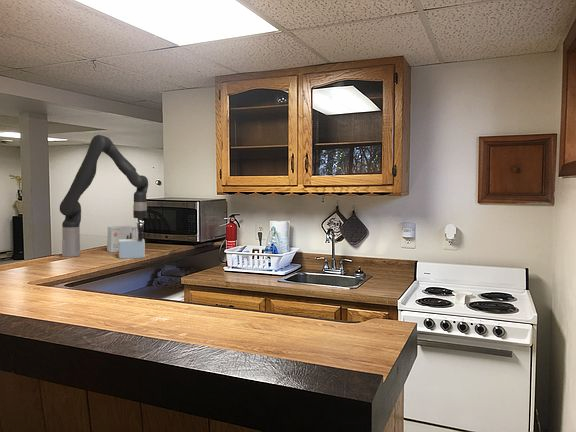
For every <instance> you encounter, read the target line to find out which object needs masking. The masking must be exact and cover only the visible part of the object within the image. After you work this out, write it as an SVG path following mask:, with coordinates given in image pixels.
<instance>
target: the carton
mask: <svg viewBox="0 0 576 432" xmlns="http://www.w3.org/2000/svg"><path fill="white" fill-rule="evenodd" d="M120 241H138V239H119V242H120ZM143 241H144V257H143V258H145V257H146V256H145V255H146V250H145V249H146V245H145V242H146V241H145V239H144V238H143ZM118 258H119V259H123V258H120V246H119V251H118ZM143 258H142V259H143Z"/></svg>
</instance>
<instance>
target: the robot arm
mask: <svg viewBox="0 0 576 432" xmlns="http://www.w3.org/2000/svg"><path fill="white" fill-rule="evenodd" d="M102 153H104V154H106V156H108V157H110V159H111V160H112V161H113V162H114V164H115V166H116V167H117V169H118V170H120V172H121V173H122V174H123V175H124V176H125V177H126V179H127V180H128V182H129V183H130V184H131V185H132V186H134V187H135V188H136V189H135V192H134V193H133V206H132V209H133V210H132V211H133V218H134V219H137V220H136V225H137V229H138V230H137V231H138V239H139V240H142V236H143V233H144V224H145V221H144V219H146V218H148V203H147V194H148V188H149V180H148V179H149V178H148V177H146V176H145V175H140V174H139V173H138V171H137V169H136V168H135V166H134V165H133V164H132V163H131V162H130V161H129V160H128V159H127V158H125V156H124V155H123V154H122V153H121V152H120V150H119V149H118V148H117V146H116V145H115V144H114V143H113V141H112V140H111V139H110V138H109V137H108V136H105V135H102V134H97V135H94V136H93V137H92V138H91V141H90V144H89V145H88V149H87V151H86V154H85V156H84V158H83V160H82V162H81V164H80V166H79V168H78V169H77V170H78V171H77V172H76V175H75V177H74V179H73V180H72V183H71V185H70V187H69V188H68V191H67V193H66V194H65V196H64V197H63V199H62V200H61V202H60V204H59V212H60V214H62V216H65V217H64V220H63V222H62V224H61V226H62V228H61V231H62V232H61V233H62V234H61V235H62V236H61V237H62V239H61V248H62V249H61V250H62V251H61V252H62V253H61V254H62V255H61V256H62V257H63V258H65V257H67V258H68V257H69V258H71V257H79V256H81V239H80V238H81V235H80V234H81V233H80V231H81V229H80V223H81V221H82V206H81V203H80V202H79V200H80V198H81V196H82V195H83V194H84V193H85V192H86V191H87V190H88V188H89V187H90V186H91V184H92V182H93V181H94V179H95V177H96V175H97V174H96V173H97V165H98V164H97V163H98V160H99V158H100V156H101V154H102Z"/></svg>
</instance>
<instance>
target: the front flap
mask: <svg viewBox="0 0 576 432" xmlns="http://www.w3.org/2000/svg"><path fill="white" fill-rule="evenodd" d="M143 237H144V236H143V235H142V240H139V239H138V241H120V242H119V246H120V258H122V259H139V258H140V259H141V258H142V259H143V257H144V241H143V239H144V238H143ZM144 258H145V257H144Z"/></svg>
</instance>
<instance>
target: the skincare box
mask: <svg viewBox="0 0 576 432" xmlns="http://www.w3.org/2000/svg"><path fill="white" fill-rule="evenodd" d="M137 230H138V229H137V224H132V225H118V226H117V225H115V226H113V225H112V226H107V241H106V242H107V251H106V252H109V253H116V252H118V253H119V239H138V231H137Z"/></svg>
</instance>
